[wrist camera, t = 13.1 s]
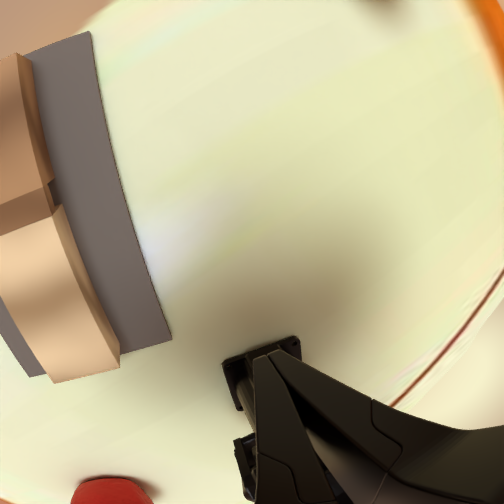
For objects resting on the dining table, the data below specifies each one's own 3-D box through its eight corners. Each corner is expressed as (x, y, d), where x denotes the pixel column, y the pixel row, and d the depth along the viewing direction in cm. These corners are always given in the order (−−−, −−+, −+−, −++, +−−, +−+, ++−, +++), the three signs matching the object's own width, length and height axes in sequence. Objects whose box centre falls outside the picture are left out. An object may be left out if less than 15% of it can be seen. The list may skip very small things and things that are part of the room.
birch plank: (119, 343, 20) (120, 367, 18) (58, 359, 19) (54, 383, 17) (56, 183, 15) (44, 193, 13) (-13, 211, 14) (-30, 225, 12)
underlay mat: (171, 335, 22) (172, 339, 21) (30, 373, 19) (29, 377, 18) (90, 33, 13) (89, 30, 12) (-74, 114, 10) (-78, 114, 9)
